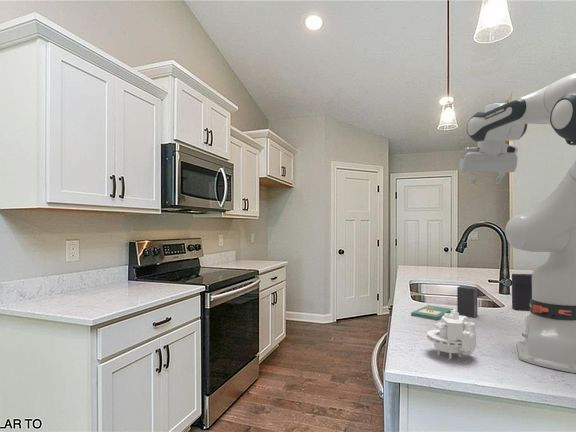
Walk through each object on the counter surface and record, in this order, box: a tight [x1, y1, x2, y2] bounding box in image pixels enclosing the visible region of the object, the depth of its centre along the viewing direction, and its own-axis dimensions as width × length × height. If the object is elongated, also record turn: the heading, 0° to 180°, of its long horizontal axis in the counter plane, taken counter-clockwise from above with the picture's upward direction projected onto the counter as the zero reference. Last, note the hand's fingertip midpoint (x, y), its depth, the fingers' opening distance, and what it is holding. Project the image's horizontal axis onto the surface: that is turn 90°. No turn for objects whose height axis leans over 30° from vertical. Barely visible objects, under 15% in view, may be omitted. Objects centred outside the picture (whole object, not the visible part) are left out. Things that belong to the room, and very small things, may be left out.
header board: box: [410, 304, 453, 321], centre depth 140 cm, size 18×10×3 cm, turn 138°
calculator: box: [511, 273, 532, 312], centre depth 148 cm, size 11×4×15 cm, turn 84°
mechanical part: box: [426, 309, 477, 360], centre depth 95 cm, size 11×12×12 cm
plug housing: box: [456, 285, 479, 319], centre depth 138 cm, size 5×6×11 cm
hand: (484, 183), depth 136 cm, fingers open, 8 cm apart
